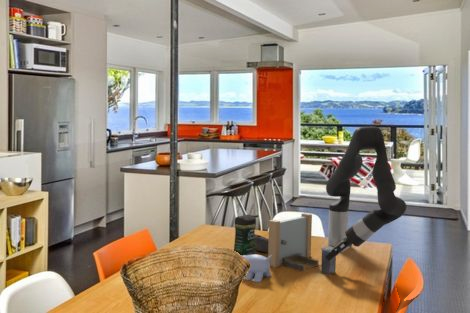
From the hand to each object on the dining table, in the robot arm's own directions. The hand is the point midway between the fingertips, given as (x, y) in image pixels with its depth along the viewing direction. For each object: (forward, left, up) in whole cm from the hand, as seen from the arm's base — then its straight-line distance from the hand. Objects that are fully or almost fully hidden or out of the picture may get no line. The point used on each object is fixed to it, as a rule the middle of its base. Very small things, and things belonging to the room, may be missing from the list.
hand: (330, 256), depth 184 cm
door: (0, -21, -7) cm, 22 cm away
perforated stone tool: (-1, -38, -7) cm, 38 cm away
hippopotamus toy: (+26, -17, -7) cm, 32 cm away
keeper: (+2, -13, -7) cm, 15 cm away
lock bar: (0, -1, -7) cm, 7 cm away
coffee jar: (+11, -38, -7) cm, 40 cm away
